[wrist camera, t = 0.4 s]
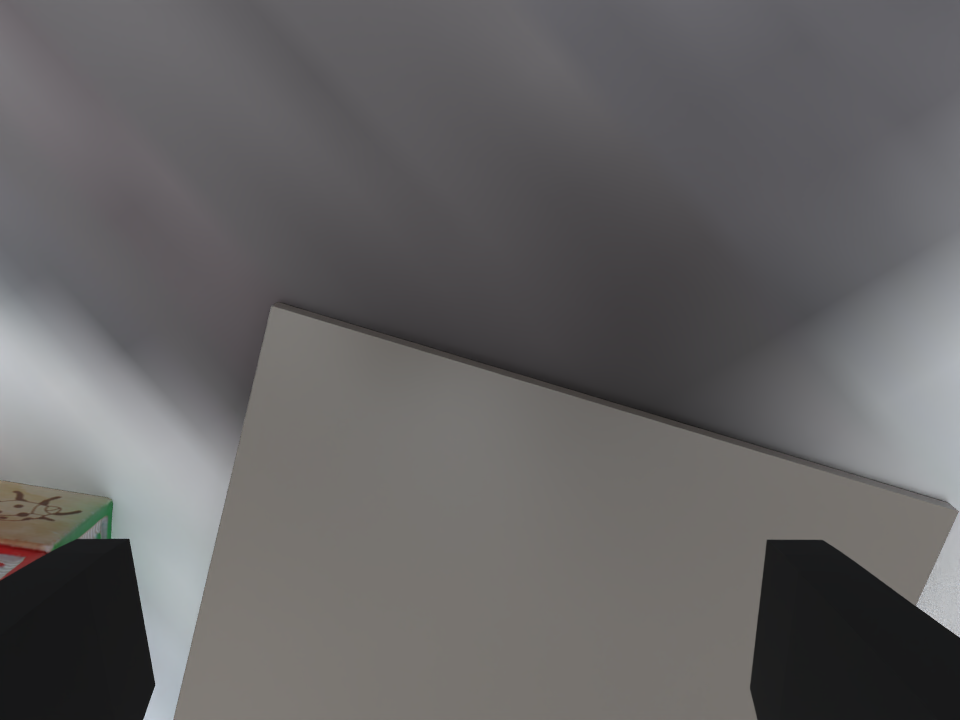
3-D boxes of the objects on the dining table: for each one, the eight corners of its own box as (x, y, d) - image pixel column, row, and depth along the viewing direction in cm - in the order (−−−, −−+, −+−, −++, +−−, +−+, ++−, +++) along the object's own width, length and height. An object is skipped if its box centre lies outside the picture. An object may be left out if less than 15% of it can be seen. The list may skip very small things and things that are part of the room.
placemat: (762, 913, 23) (767, 929, 22) (173, 738, 23) (165, 751, 22) (948, 502, 20) (958, 511, 20) (277, 302, 20) (271, 305, 20)
